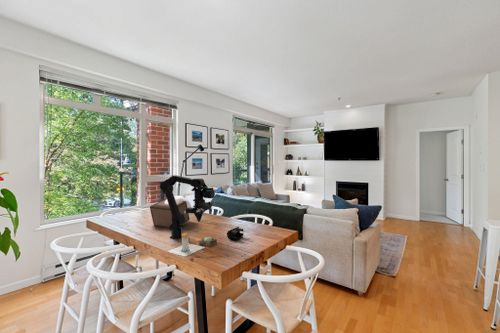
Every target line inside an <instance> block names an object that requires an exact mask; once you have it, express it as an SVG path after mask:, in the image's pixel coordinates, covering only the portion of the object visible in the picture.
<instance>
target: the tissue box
mask: <svg viewBox="0 0 500 333" xmlns="http://www.w3.org/2000/svg"><path fill="white" fill-rule="evenodd" d="M174 198H175V201H176V203H177V206H178V209H179V212H180V213H181V214H184V217H185V224H186V223H187V222H189V221H190V216H191V214H192V213H186V208H190V207H192V204H191V203H190V201H189V200H188V198H186V197H184V196H183V195H174ZM149 210H150V215H151V218H152V223H153V226H154V227H157V228H158V227H159V228H165V229H169V226H170V225H171V224H172V213H171V210H170V207H169V204H168V201H167V198H166V199H163V200H160V201H158V202H156V203H153V204H151V205H150V206H149Z"/></svg>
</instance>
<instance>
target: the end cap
mask: <svg viewBox="0 0 500 333" xmlns="http://www.w3.org/2000/svg"><path fill="white" fill-rule="evenodd" d="M226 237H227V239H228V240H230V241H232V242H238V241H240V240H242V239H244V228H240V227H239V226H236V227H234V228H232V229H229V230H227V232H226Z"/></svg>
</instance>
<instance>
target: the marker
mask: <svg viewBox="0 0 500 333" xmlns="http://www.w3.org/2000/svg"><path fill="white" fill-rule="evenodd" d="M189 236H190V235H189V233H188V232H183V233H182V237H181V246H182V251H183V252H186V251H188V250H189V247H188V243H189Z"/></svg>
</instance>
